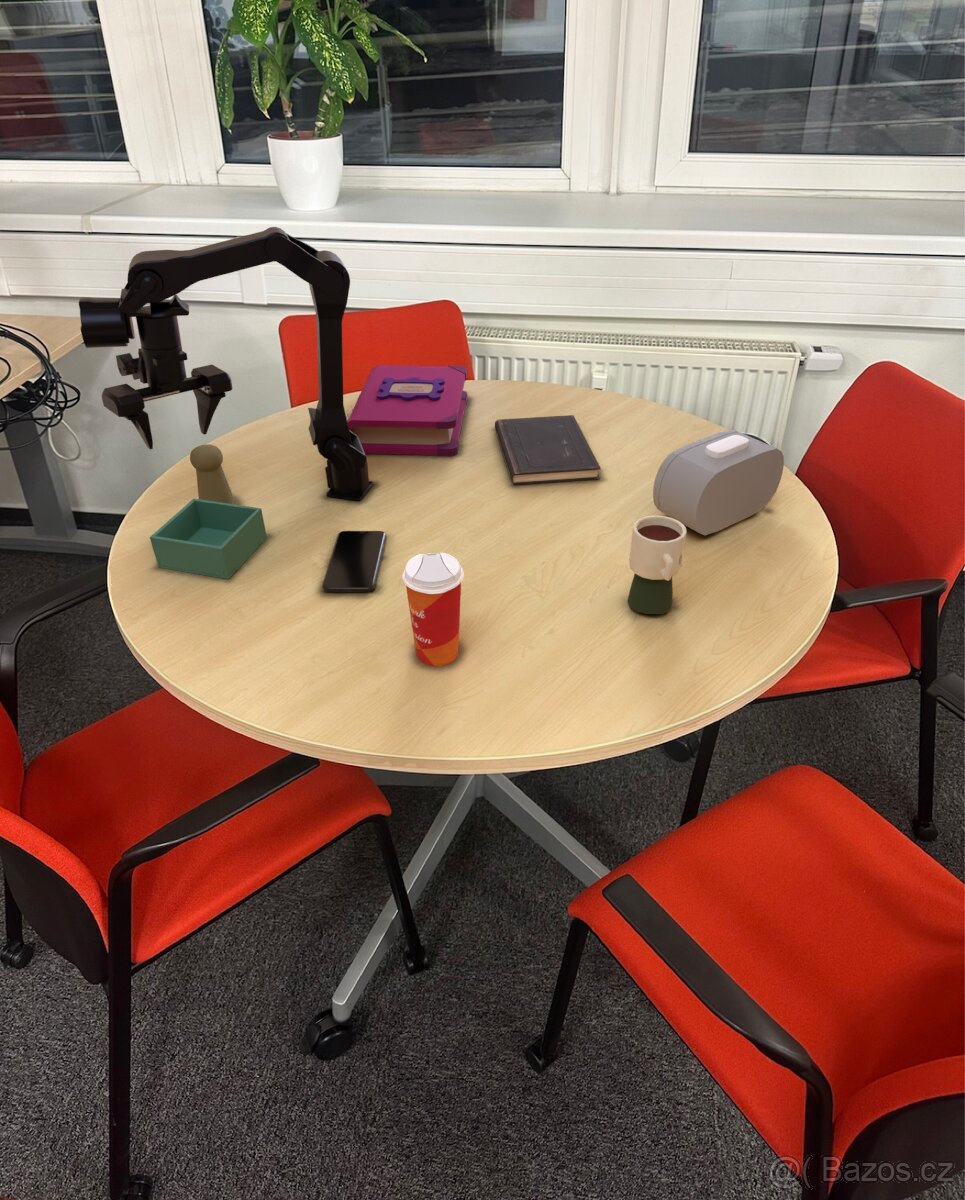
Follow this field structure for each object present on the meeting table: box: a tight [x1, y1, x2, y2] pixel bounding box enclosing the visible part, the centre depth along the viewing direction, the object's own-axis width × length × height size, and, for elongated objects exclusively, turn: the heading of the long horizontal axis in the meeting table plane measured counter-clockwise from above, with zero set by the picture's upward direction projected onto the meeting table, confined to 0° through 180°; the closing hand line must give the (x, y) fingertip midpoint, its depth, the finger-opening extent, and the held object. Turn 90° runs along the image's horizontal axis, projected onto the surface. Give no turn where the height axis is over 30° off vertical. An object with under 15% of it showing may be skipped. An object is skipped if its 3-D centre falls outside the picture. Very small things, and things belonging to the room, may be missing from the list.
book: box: [347, 364, 469, 457], centre depth 166 cm, size 21×28×8 cm
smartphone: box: [321, 530, 387, 593], centre depth 128 cm, size 8×1×16 cm
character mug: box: [627, 515, 687, 615], centre depth 115 cm, size 11×7×13 cm, turn 8°
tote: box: [149, 498, 268, 580], centre depth 129 cm, size 12×12×6 cm
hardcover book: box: [494, 414, 602, 486], centre depth 157 cm, size 16×23×2 cm
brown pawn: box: [189, 444, 237, 505], centre depth 139 cm, size 6×6×11 cm
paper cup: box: [401, 551, 465, 667], centre depth 107 cm, size 8×8×14 cm
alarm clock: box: [652, 428, 785, 537], centre depth 135 cm, size 21×10×13 cm, turn 126°
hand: (177, 440), depth 133 cm, fingers open, 9 cm apart
